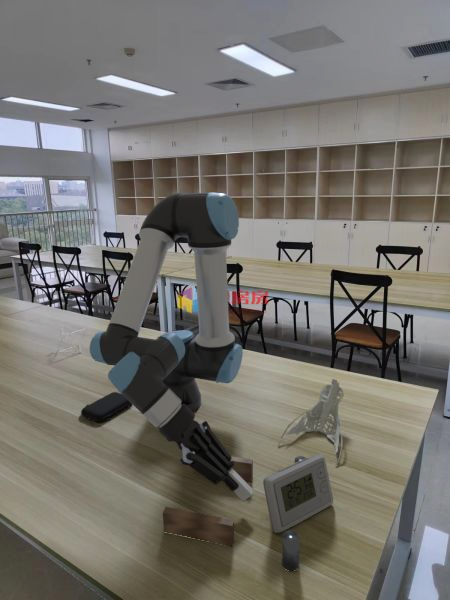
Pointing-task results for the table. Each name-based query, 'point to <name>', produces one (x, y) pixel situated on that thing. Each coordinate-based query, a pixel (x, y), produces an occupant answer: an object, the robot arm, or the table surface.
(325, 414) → the skeletal model
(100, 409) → the carrying case or bag
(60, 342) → the geometric polyhedron
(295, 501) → the digital clock
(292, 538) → the posts
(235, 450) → the table surface
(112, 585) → the table surface
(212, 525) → the chute
